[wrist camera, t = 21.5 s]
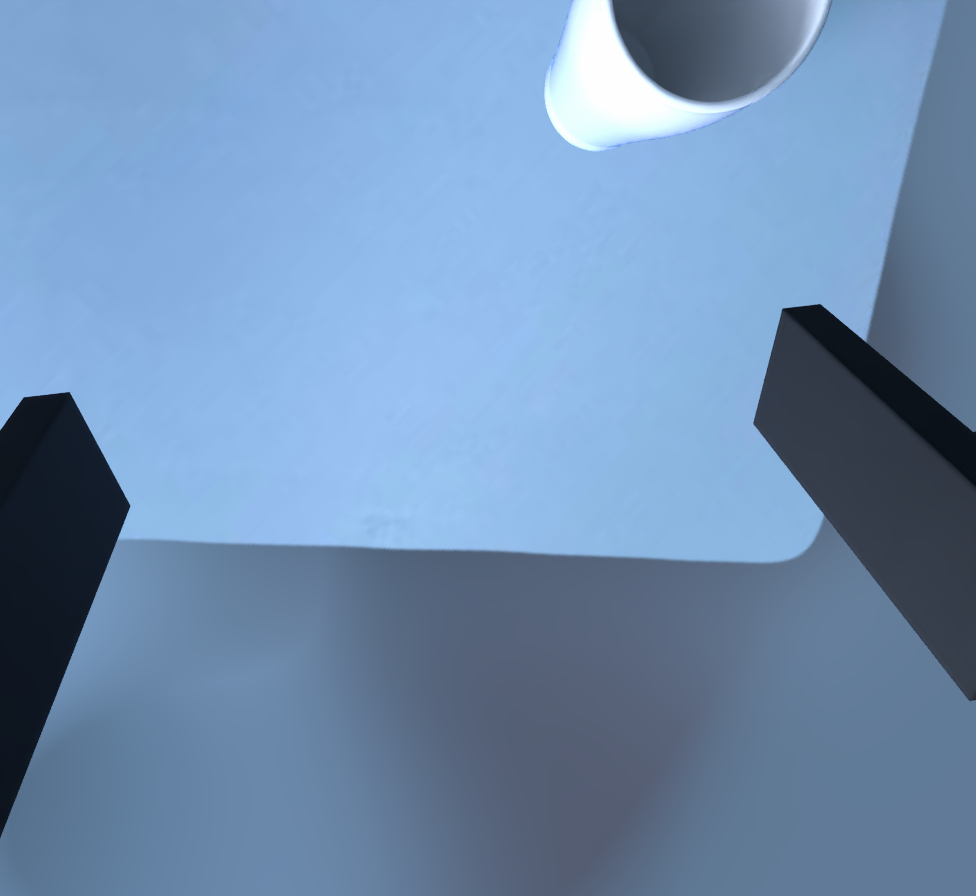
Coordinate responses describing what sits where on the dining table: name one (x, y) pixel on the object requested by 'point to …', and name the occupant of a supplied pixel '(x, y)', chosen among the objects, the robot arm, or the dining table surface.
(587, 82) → the drinking glass
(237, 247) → the dining table surface
